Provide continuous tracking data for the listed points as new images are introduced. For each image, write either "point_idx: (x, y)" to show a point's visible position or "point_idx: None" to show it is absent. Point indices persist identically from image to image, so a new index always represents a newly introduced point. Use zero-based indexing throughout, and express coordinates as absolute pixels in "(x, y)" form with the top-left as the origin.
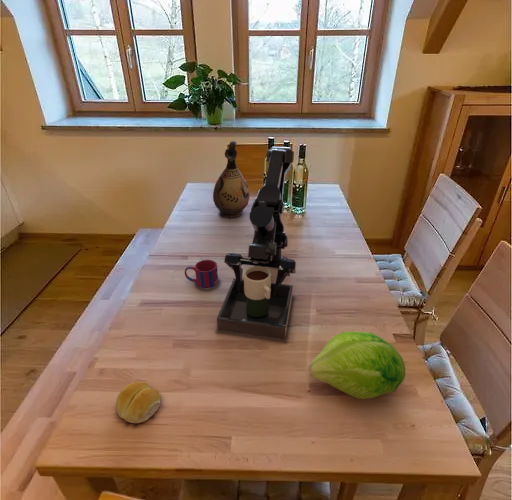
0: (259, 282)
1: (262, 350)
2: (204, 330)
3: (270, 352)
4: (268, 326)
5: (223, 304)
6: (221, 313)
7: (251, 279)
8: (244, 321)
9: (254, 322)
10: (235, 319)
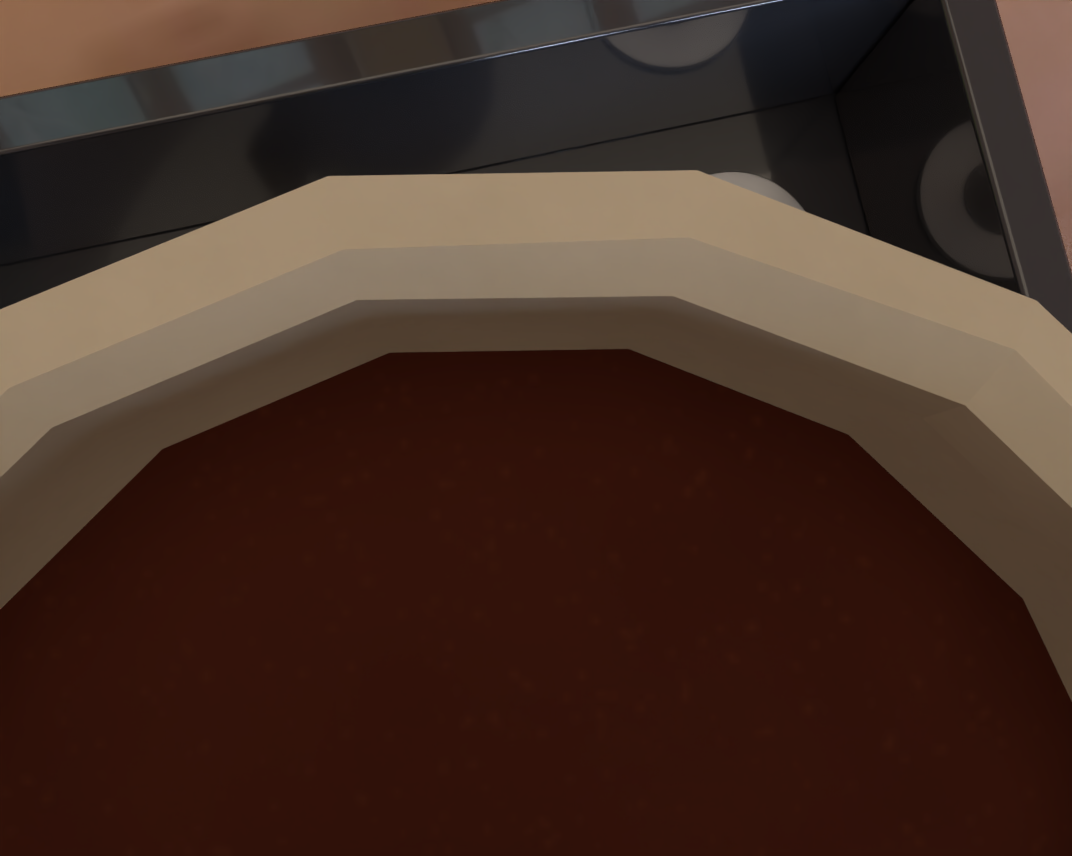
0: (63, 323)
1: (153, 4)
2: (1024, 32)
3: (41, 12)
4: (29, 99)
5: (1063, 290)
6: (965, 55)
7: (734, 659)
8: (480, 21)
9: (297, 66)
10: (654, 5)
